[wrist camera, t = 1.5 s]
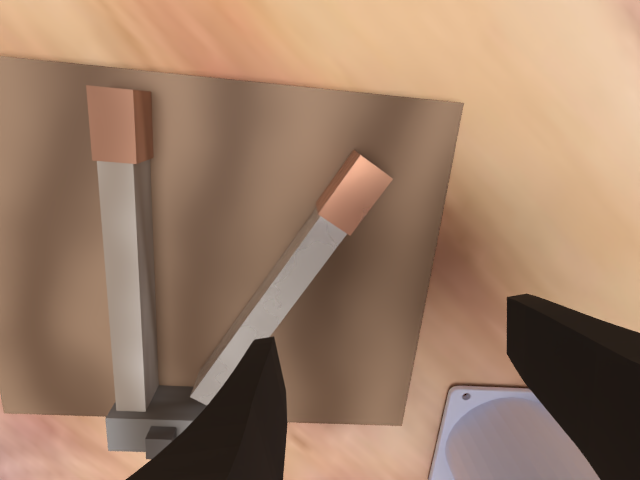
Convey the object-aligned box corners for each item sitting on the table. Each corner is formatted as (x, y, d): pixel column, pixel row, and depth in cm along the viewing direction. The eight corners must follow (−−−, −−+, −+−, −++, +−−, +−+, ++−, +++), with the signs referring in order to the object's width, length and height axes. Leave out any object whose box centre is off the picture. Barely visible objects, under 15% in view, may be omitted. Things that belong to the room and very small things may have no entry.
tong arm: (224, 383, 22) (217, 411, 20) (196, 369, 22) (186, 396, 20) (382, 170, 19) (393, 178, 17) (353, 149, 18) (360, 155, 16)
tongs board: (451, 103, 20) (498, 102, 15) (395, 407, 25) (417, 474, 21) (-35, 54, 18) (-148, 36, 13) (21, 394, 23) (-45, 464, 19)
